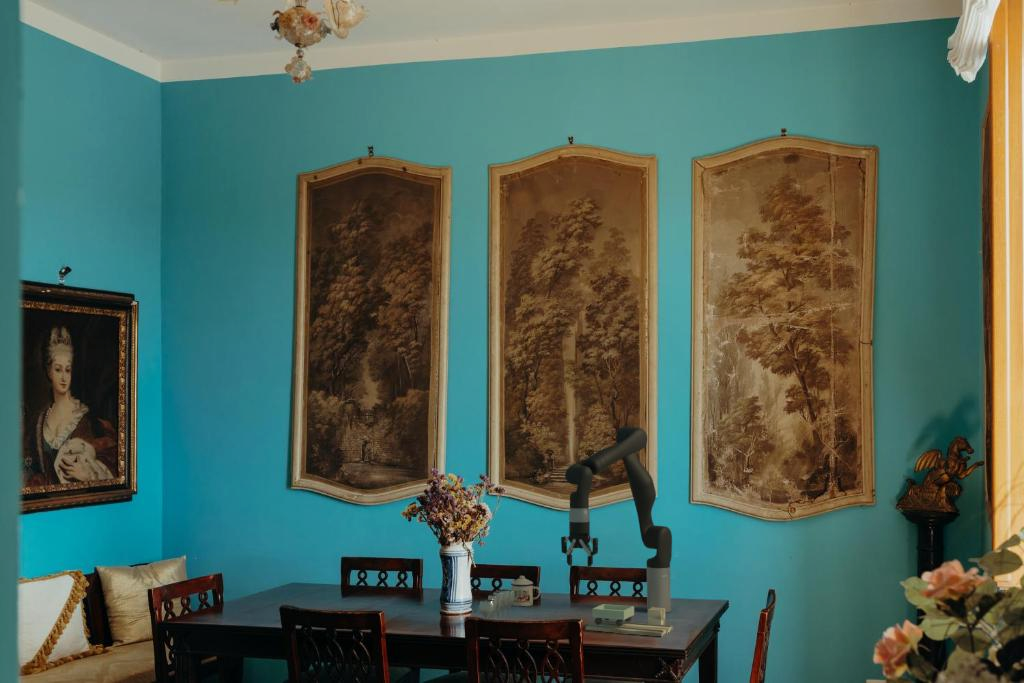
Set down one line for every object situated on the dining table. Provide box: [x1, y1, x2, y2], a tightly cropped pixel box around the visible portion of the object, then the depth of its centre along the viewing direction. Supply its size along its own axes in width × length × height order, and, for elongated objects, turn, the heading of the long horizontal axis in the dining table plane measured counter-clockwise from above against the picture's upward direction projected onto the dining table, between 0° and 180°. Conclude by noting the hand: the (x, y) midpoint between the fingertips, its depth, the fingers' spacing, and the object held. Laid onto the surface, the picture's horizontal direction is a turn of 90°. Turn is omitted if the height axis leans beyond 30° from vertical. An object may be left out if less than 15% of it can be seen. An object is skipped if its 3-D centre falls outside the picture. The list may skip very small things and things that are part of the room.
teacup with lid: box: [510, 575, 541, 607], centre depth 435 cm, size 12×9×12 cm
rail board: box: [585, 619, 674, 637], centre depth 381 cm, size 14×28×2 cm, turn 64°
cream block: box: [647, 607, 666, 625], centre depth 391 cm, size 5×5×6 cm
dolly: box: [591, 603, 635, 626], centre depth 384 cm, size 11×12×6 cm
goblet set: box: [478, 588, 515, 620], centre depth 385 cm, size 28×6×13 cm, turn 161°
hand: (579, 565), depth 391 cm, fingers open, 7 cm apart
